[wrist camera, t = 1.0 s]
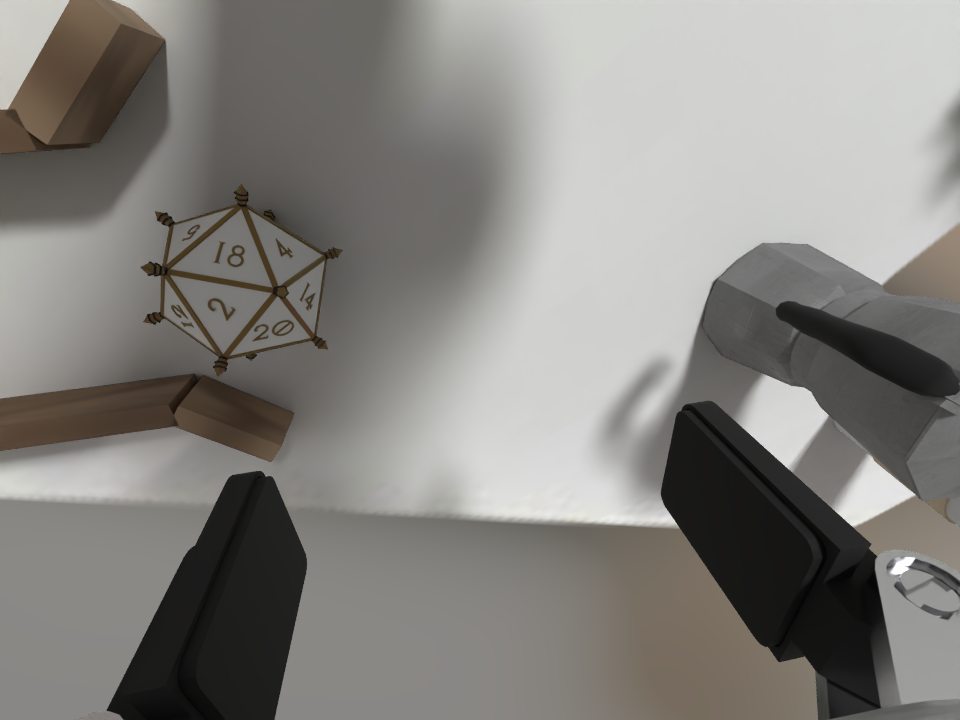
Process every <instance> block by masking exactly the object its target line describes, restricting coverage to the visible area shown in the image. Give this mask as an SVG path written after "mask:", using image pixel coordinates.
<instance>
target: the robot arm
mask: <svg viewBox="0 0 960 720" xmlns="http://www.w3.org/2000/svg"><path fill="white" fill-rule="evenodd" d="M661 497H662V501H663V503H664V505H665V507H666V508H667V510H668V511H669V513H670V514H671V516H672V517H673V519H674V520H675V522H676V523H677V524H678V526H679V527H680V529H681V530H682V532H683V533H684V535H685V536H686V537H687V539H688V541H689V542H690V543H691V545H692V546H693V548H694V549H695V551H696V552H697V553H698V555H699V557H700V558H701V560H702V561H703V563H704V564H705V565H706V567H707V568H708V570H709V571H710V573H711V574H712V576H713V577H714V579H715V580H716V582H717V583H718V585H719V586H720V587H721V589H722V590H723V592H724V593H725V595H726V596H727V598H728V599H729V601H730V602H731V604H732V605H733V607H734V608H735V610H736V611H737V612H738V614H739V615H740V617H741V618H742V620H743V621H744V623H745V624H746V626H747V627H748V629H749V630H750V632H751V633H752V634H753V636H754V637H755V639H756V640H757V641H758V642H759V643H760V644H761V645H763V646H765V647H768V648H769V649H770V650H771V652H772V653H773V655H774V656H775V657H776V659H777V660H778V662H782V661H787V660H791V659H796V658H800V657H804V656H805V657H806V658H807V660H808V661H809V662H810V663H811V665H812V666H813V668H814V669H815V676H816V692H817V693H816V694H817V709H818V710H817V711H818V720H960V573H959V572H957V571H956V570H954V569H953V568H951V567H949V566H947V565H945V564H944V563H942V562H940V561H938V560H936V559H933V558H931V557H928V556H925V555H923V554H920V553H916V552H912V551H907V550H888V551H886V552H882V553H881V554H880V555H879V556H878V557H877V556H876V555H875V554H874V553H873V552H872V551H871V550H870V549H869V547H870V545H871V543H869V542H868V541H867V540H866V539H865V538H864V537H863V536H862V535H861V534H860V533H858V532H857V531H856V530H855V529H854V528H853V527H852V526H851V525H850V524H848V523H847V522H846V521H845V520H844V519H843V518H842V517H841V516H840V515H839V514H837V513H836V512H835V511H834V510H833V509H832V508H831V507H830V506H829V505H827V504H826V503H825V502H824V501H823V500H822V499H821V498H820V497H819V496H817V495H816V494H815V493H814V492H813V491H812V490H811V489H810V488H809V487H807V486H806V485H805V484H804V483H803V482H802V481H801V480H800V479H799V478H797V477H796V476H795V475H794V474H793V473H792V472H791V471H790V470H789V469H787V468H786V467H785V466H784V465H783V464H782V463H781V462H780V461H779V460H777V459H776V458H775V457H774V456H773V455H772V454H771V453H770V452H769V451H767V450H766V449H765V448H764V447H763V446H762V445H761V444H760V443H759V442H757V441H756V440H755V439H754V438H753V437H752V436H751V435H750V434H749V433H747V432H746V431H745V430H744V429H743V428H742V427H741V426H740V425H739V424H738V423H736V422H735V421H734V420H733V419H732V418H731V417H730V416H729V415H728V414H726V413H725V412H724V411H723V410H722V409H721V408H720V407H719V406H718V405H716V404H715V403H714V402H712V401H704V402H698V403H692V404H687V405H685V406H684V407H683V408H682V411H680V412H678V413H677V415H676V419H675V424H674V429H673V434H672V439H671V444H670V449H669V454H668V459H667V464H666V469H665V474H664V478H663V483H662V488H661ZM306 570H307V559H306V554H305V551H304V549H303V547H302V544H301V542H300V540H299V537H298V535H297V532H296V530H295V528H294V525H293V523H292V521H291V518H290V516H289V514H288V511H287V509H286V507H285V504H284V502H283V500H282V497H281V495H280V492H279V490H278V488H277V485H276V483H275V481H274V479H273V477H271V476H268V477H265V475H264V473H263V472H261V471H256V472H249V473H243V474H236V475H232V476H230V477H229V479H228V480H227V482H226V484H225V486H224V488H223V490H222V492H221V494H220V496H219V498H218V500H217V502H216V504H215V506H214V508H213V510H212V512H211V514H210V516H209V518H208V520H207V522H206V524H205V527H204V528H203V531H202V533H201V535H200V537H199V539H198V541H197V543H196V545H195V546H193V547H192V548H191V549H190V550H189V551H188V552H187V554H186V555H185V557H184V558H183V560H182V562H181V564H180V566H179V568H178V570H177V572H176V574H175V576H174V578H173V580H172V582H171V584H170V586H169V588H168V590H167V592H166V594H165V596H164V598H163V600H162V602H161V604H160V606H159V608H158V610H157V612H156V613H155V615H154V617H153V620H152V622H151V623H150V625H149V627H148V629H147V631H146V633H145V635H144V637H143V639H142V641H141V643H140V645H139V647H138V649H137V651H136V653H135V655H134V657H133V659H132V661H131V663H130V665H129V667H128V669H127V671H126V673H125V675H124V677H123V679H122V681H121V683H120V685H119V687H118V689H117V691H116V693H115V695H114V697H113V699H112V701H111V703H110V705H109V707H108V709H107V711H103V712H94V713H91V714H88V715H86V716H84V717H81V718H79V719H76V720H274V719H275V714H276V709H277V705H278V700H279V695H280V691H281V686H282V681H283V677H284V672H285V667H286V663H287V658H288V654H289V649H290V644H291V640H292V635H293V631H294V626H295V621H296V617H297V612H298V607H299V603H300V598H301V594H302V589H303V584H304V580H305V575H306Z"/></svg>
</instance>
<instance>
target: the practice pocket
mask: <svg viewBox="0 0 960 720" xmlns="http://www.w3.org/2000/svg"><path fill="white" fill-rule="evenodd" d="M164 41H165V39H164V38H163V37H162V36H160V35H159V34H158V33H157V32H156V31H155V30H154V29H153V28H152V27H150V26H149V25H148V24H147V23H146V22H145V21H144V20H143V19H142V18H141V17H139V16H138V15H137V14H136V13H135V12H134V11H133V10H132V9H130V8H128V7H126V6H123V5H121V4H119V3H116V2H114V1H112V0H70V1H69V3H68V5H67V6H66V8H65V10H64V12H63V13H62V15H61V17H60V19H59V20H58V22H57V24H56V26H55V27H54V29H53V31H52V33H51V34H50V36H49V38H48V40H47V42H46V43H45V45H44V47H43V49H42V50H41V52H40V54H39V56H38V57H37V59H36V61H35V63H34V64H33V66H32V68H31V70H30V71H29V73H28V75H27V77H26V78H25V80H24V82H23V84H22V86H21V87H20V89H19V91H18V93H17V94H16V96H15V98H14V100H13V101H12V103H11V105H10V107H9V108H8V110H0V154H7V153H20V152H34V151H47V150H61V149H74V148H88V147H90V145H89V143H99V142H100V140H101V139H102V137H103V136H104V134H105V133H106V131H107V130H108V128H109V127H110V125H111V123H112V122H113V120H114V119H115V117H116V116H117V114H118V113H119V111H120V109H121V108H122V106H123V105H124V103H125V102H126V100H127V99H128V97H129V96H130V94H131V92H132V91H133V89H134V88H135V86H136V85H137V83H138V82H139V80H140V78H141V77H142V75H143V74H144V72H145V71H146V69H147V68H148V66H149V65H150V63H151V61H152V60H153V58H154V57H155V55H156V54H157V52H158V51H159V49H160V47H161V46H162V44H163V43H164ZM293 415H294V413H292V412H290V411H287V410H285V409H282V408H280V407H278V406H275V405H273V404H271V403H268V402H266V401H263V400H261V399H259V398H256V397H254V396H252V395H249V394H247V393H244V392H242V391H240V390H237V389H235V388H233V387H230V386H228V385H226V384H223V383H221V382H218V381H216V380H214V379H211V378H209V377H207V376H204V375H203V376H202V378H201V379H200V380H199V381H198V380H197V378H196V376H195V374H190V375H182V376H174V377H166V378H159V379H151V380H143V381H135V382H128V383H120V384H112V385H104V386H97V387H89V388H81V389H73V390H65V391H58V392H50V393H42V394H34V395H27V396H19V397H11V398H3V399H0V451H3V450H10V449H17V448H24V447H31V446H38V445H45V444H53V443H60V442H67V441H74V440H81V439H88V438H95V437H102V436H110V435H117V434H124V433H131V432H138V431H145V430H152V429H160V428H167V427H177V428H180V429H182V430H185V431H188V432H190V433H193V434H196V435H199V436H201V437H204V438H207V439H210V440H212V441H215V442H218V443H220V444H223V445H226V446H229V447H231V448H234V449H237V450H239V451H242V452H245V453H248V454H250V455H253V456H256V457H259V458H261V459H264V460H267V461H269V462H271V461H272V460H273V458H274V457H275V455H276V454H277V452H278V450H279V449H280V447H281V446H282V443H283V441H284V438H285V435H286V433H287V430H288V428H289V425H290V422H291V420H292V417H293Z"/></svg>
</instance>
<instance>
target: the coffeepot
mask: <svg viewBox="0 0 960 720" xmlns="http://www.w3.org/2000/svg"><path fill="white" fill-rule="evenodd" d="M702 327H703V328H704V330H705V331H706V333H707V335H708V337H709V339H710V340H711V341H712V343H713V344H714V345H715V346H716V348H717V349H718V351H719V353H720V354H721V356H724V357H726V358H728V359H731V360H733V361H735V362H738V363H740V364H742V365H745V366H747V367H749V368H752V369H754V370H756V371H758V372H761V373H763V374H765V375H768V376H770V377H772V378H775V379H777V380H779V381H782V382H784V383H786V384H789V385H791V386H798V387H804V388H806V389H808V390H809V391H811V392H812V394H813V396H814V398H815V399H816V401H817V402H818V404H819V405H820V407H821V408H822V409H823V410H824V411H825V412H826V413H827V414H828V415H829V416H831V417H832V418H833V419H834V420H835V421H836V422H837V423H838V424H839V425H840V426H841V427H843V428H844V429H845V430H846V431H847V432H848V433H849V434H850V435H851V436H852V437H853V438H855V439H856V440H857V441H858V442H859V443H860V444H861V445H862V446H863V447H864V448H865V449H867V450H868V451H869V452H870V453H871V454H872V455H873V456H874V457H875V458H876V459H877V460H879V461H880V462H881V463H882V464H883V465H884V466H885V467H886V468H887V469H888V470H889V471H891V472H892V473H893V474H894V475H895V476H896V477H897V478H898V479H899V480H900V481H901V482H903V483H904V484H905V485H906V486H907V487H908V488H909V489H910V490H911V491H912V492H913V493H915V494H916V495H917V496H918V498H919V499H921V500H922V501H923V500H934V499H944V498H955V497H960V303H958V302H952V301H947V300H941V299H935V298H930V297H923V296H894V295H892V294H889V293H886V292H885V290H884V289H883V287H882V286H881V284H879V283H877V282H875V281H874V280H872V279H870V278H868V277H866V276H864V275H863V274H861V273H859V272H857V271H855V270H854V269H852V268H850V267H848V266H846V265H845V264H843V263H841V262H839V261H837V260H835V259H834V258H832V257H830V256H828V255H826V254H825V253H823V252H821V251H819V250H817V249H816V248H814V247H812V246H810V245H808V244H790V243H762V244H761V245H759V246H758V247H756V248H754V249H753V250H751V251H750V252H748V253H747V254H745V255H744V256H742V257H741V258H739V259H738V260H736V261H735V262H734V263H733V264H732V265H731V266H730V267H729V268H728V269H727V270H726V271H725V272H724V273H723V275H722V276H721V277H719V278H718V279H717V281H716V283H715V285H714V287H713V289H712V291H711V293H710V296H709V298H708V300H707V304H706V308H705V312H704V322H703V325H702Z"/></svg>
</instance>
